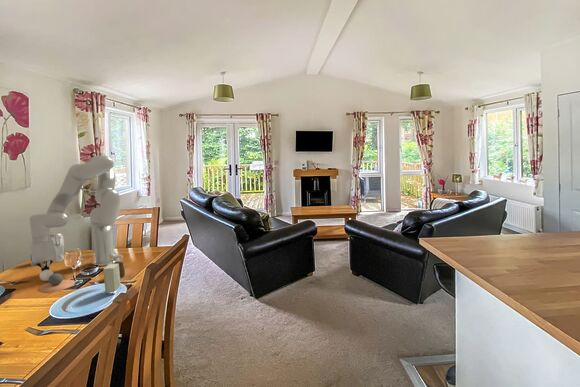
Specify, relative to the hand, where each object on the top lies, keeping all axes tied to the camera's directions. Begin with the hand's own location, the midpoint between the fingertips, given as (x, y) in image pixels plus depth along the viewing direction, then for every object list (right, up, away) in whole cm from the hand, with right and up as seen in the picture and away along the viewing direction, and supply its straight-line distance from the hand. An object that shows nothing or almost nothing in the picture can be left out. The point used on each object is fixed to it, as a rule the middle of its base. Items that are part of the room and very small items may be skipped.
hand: (46, 274), depth 169 cm
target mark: (+13, -3, -11) cm, 18 cm away
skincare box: (+44, -4, -18) cm, 48 cm away
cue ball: (+4, +1, -5) cm, 6 cm away
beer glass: (-12, +2, +27) cm, 30 cm away
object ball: (+12, 0, -10) cm, 15 cm away
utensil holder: (+37, -1, -1) cm, 37 cm away
